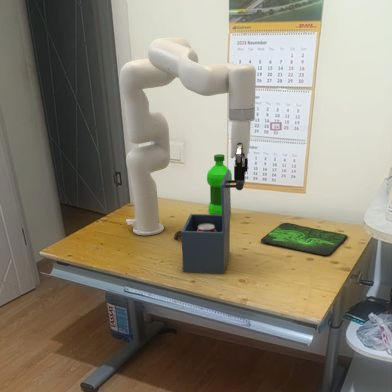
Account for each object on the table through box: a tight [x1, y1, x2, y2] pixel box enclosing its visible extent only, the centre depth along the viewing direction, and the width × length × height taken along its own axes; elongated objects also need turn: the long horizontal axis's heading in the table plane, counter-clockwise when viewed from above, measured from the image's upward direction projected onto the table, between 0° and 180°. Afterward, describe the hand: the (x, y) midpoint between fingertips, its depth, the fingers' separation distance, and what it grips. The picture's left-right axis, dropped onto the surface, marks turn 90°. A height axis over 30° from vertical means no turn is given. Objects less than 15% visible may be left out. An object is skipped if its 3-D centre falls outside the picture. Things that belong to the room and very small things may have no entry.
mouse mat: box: [260, 222, 348, 257], centre depth 177 cm, size 27×22×1 cm
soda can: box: [197, 223, 217, 232], centre depth 161 cm, size 7×7×12 cm
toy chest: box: [180, 213, 231, 275], centre depth 160 cm, size 14×17×14 cm
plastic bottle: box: [206, 153, 233, 215], centre depth 194 cm, size 10×10×25 cm
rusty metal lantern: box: [173, 230, 182, 242], centre depth 178 cm, size 7×13×10 cm
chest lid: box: [221, 169, 246, 232], centre depth 150 cm, size 15×17×6 cm
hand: (240, 175), depth 146 cm, fingers open, 9 cm apart
